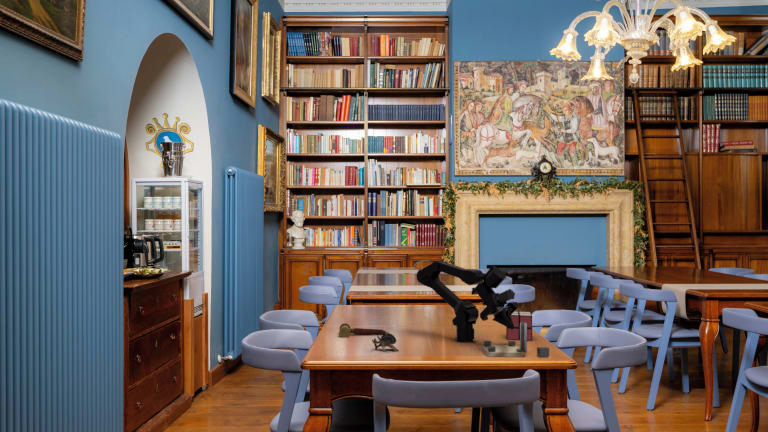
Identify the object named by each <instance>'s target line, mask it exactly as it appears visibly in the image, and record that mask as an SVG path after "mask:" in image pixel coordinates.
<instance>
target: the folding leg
mask: <svg viewBox="0 0 768 432" xmlns="http://www.w3.org/2000/svg"><path fill="white" fill-rule="evenodd" d="M524 338H525V350H526V352H527V351H528V343H527V342H528V341H527V323H524ZM519 348H520V349H521V323H520V340H519Z"/></svg>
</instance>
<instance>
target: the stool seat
mask: <svg viewBox="0 0 768 432" xmlns="http://www.w3.org/2000/svg"><path fill="white" fill-rule="evenodd" d="M507 343H508V344H492V341H491V340H484V341H483V343H482V344H480V348H481V350H482V352H483V353H484V355H485V356H486V357H487V358H494V357H495V358H503V357H504V358H525V354H526V352H527V351H526V350H525V338H524V321H521V349H520V346H518V345H517V344H516V340H508V341H507Z"/></svg>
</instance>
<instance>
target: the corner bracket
mask: <svg viewBox="0 0 768 432" xmlns="http://www.w3.org/2000/svg"><path fill="white" fill-rule="evenodd" d="M536 356H537V357H539V358H548V357H550V347H548V346H537V347H536Z"/></svg>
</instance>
